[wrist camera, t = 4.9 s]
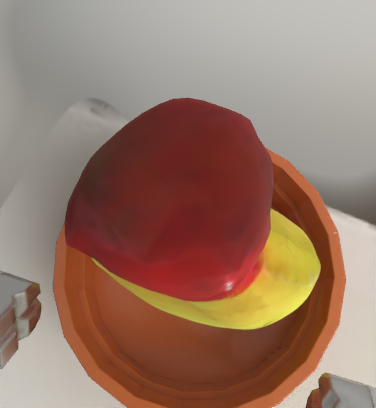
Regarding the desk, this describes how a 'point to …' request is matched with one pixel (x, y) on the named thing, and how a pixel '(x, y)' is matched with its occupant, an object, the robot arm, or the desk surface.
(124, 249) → the bottle
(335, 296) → the bowl
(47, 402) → the desk surface
